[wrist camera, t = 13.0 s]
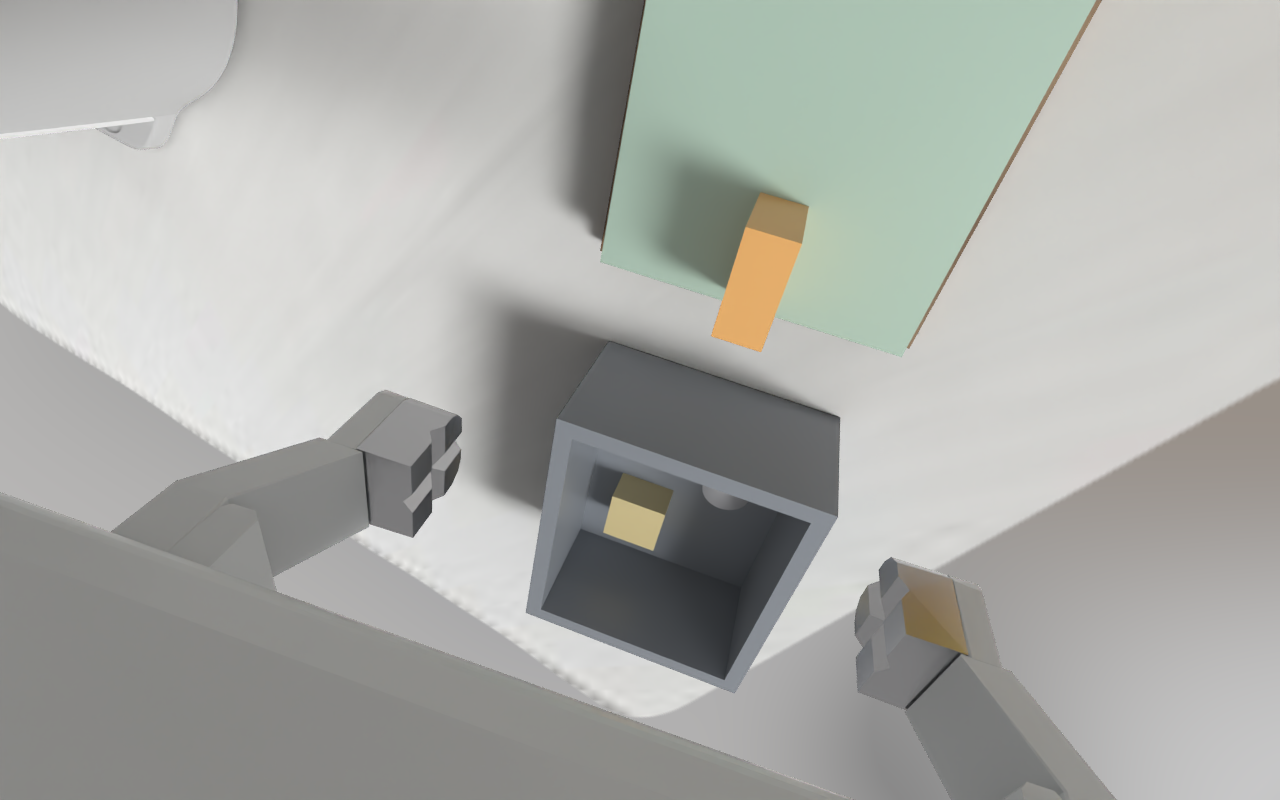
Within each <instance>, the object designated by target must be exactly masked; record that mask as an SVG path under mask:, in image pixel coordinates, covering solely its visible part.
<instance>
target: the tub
mask: <svg viewBox="0 0 1280 800" xmlns="http://www.w3.org/2000/svg"><path fill="white" fill-rule="evenodd" d="M839 444H840V418H839V417H836V416H833V415H830V414H827V413H824V412H821V411H818V410H815V409H812V408H809V407H806V406H803V405H800V404H797V403H794V402H791V401H788V400H785V399H782V398H779V397H776V396H773V395H770V394H767V393H764V392H761V391H758V390H755V389H752V388H749V387H746V386H743V385H740V384H737V383H734V382H731V381H728V380H725V379H722V378H719V377H716V376H713V375H710V374H707V373H704V372H701V371H698V370H695V369H692V368H689V367H686V366H683V365H680V364H677V363H674V362H671V361H668V360H665V359H662V358H659V357H656V356H653V355H650V354H647V353H644V352H641V351H638V350H635V349H632V348H629V347H626V346H623V345H620V344H616V343H613V342H610V341H609V342H608V343H607V345H606V346H605V348H604V349H603V351H602V352H601V354H600V355H599V357H598V358H597V360H596V361H595V362H594V364H593V365H592V367H591V368H590V370H589V371H588V373H587V374H586V376H585V377H584V379H583V380H582V382H581V383H580V385H579V386H578V388H577V389H576V391H575V392H574V394H573V395H572V397H571V398H570V400H569V401H568V402H567V404H566V405H565V407H564V408H563V410H562V411H561V413H560V414H559V416H558V417H557V420H556V426H555V432H554V438H553V445H552V451H551V457H550V464H549V470H548V476H547V482H546V489H545V495H544V501H543V508H542V514H541V520H540V526H539V533H538V539H537V545H536V552H535V558H534V564H533V570H532V577H531V583H530V589H529V596H528V602H527V608H526V613H528V614H530V615H533V616H536V617H538V618H541V619H543V620H546V621H549V622H551V623H554V624H556V625H559V626H561V627H564V628H567V629H569V630H572V631H574V632H577V633H580V634H582V635H585V636H587V637H590V638H593V639H595V640H598V641H600V642H603V643H605V644H608V645H611V646H613V647H616V648H618V649H621V650H624V651H626V652H629V653H631V654H634V655H637V656H639V657H642V658H644V659H647V660H649V661H652V662H655V663H657V664H660V665H662V666H665V667H668V668H670V669H673V670H675V671H678V672H680V673H683V674H686V675H688V676H691V677H693V678H696V679H699V680H701V681H704V682H706V683H709V684H712V685H714V686H717V687H719V688H722V689H724V690H727V691H730V692H732V693H735V692H736V690H737V688H738V687H739V685H740V683H741V682H742V680H743V678H744V677H745V675H746V673H747V672H748V670H749V668H750V666H751V665H752V663H753V661H754V660H755V658H756V656H757V654H758V653H759V651H760V649H761V648H762V646H763V644H764V642H765V641H766V639H767V637H768V636H769V634H770V632H771V630H772V629H773V627H774V625H775V624H776V622H777V620H778V618H779V617H780V615H781V613H782V612H783V610H784V608H785V606H786V605H787V603H788V601H789V600H790V598H791V596H792V595H793V593H794V591H795V589H796V588H797V586H798V584H799V583H800V581H801V579H802V577H803V576H804V574H805V572H806V571H807V569H808V567H809V565H810V564H811V562H812V560H813V559H814V557H815V555H816V553H817V552H818V550H819V548H820V547H821V545H822V543H823V541H824V540H825V538H826V536H827V535H828V533H829V531H830V530H831V528H832V526H833V524H834V523H835V521H836V519H837V518H838V490H839Z"/></svg>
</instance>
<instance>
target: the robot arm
mask: <svg viewBox="0 0 1280 800" xmlns="http://www.w3.org/2000/svg"><path fill="white" fill-rule="evenodd" d="M237 11H238V0H0V139H9V138H17V137H26V136H35V135H43V134H52V133H61V132H69V131H77V130H85V129H94V128H95V129H97V130H99V131H100V132H102V133H104V134H106V135H108V136H110V137H112V138H114V139H116V140H117V141H119V142H121V143H123V144H125V145H127V146H129V147H131V148H134V149H137V150H145V149H155V148H160V147H162V146H163V145H164V144H165V143H166V142H167V140H168V138H169V136H170V134H171V131H172V129H173V126H174V123H175V120H176V117H177V114H178V113H179V112H180V111H181V110H182V109H183V108H184V107H185V106H187V105H188V104H190V103H191V102H193V101H195V100H196V99H198V98H200V97H201V96H203V95H204V94H205V93H207V92H208V91H209V90H210V89H211V88H212V87H213V86H214V85H215V83H216V82H217V81H218V80H219V78H220V76H221V75H222V73H223V72H224V70H225V68H226V65H227V63H228V61H229V58H230V55H231V52H232V48H233V44H234V40H235V34H236V26H237ZM461 432H462V418H461V417H460V416H458V415H457V414H454V413H451V412H448V411H445V410H443V409H440V408H437V407H434V406H431V405H428V404H426V403H423V402H420V401H417V400H414V399H412V398H407V397H404V396H401V395H399V394H396V393H393V392H390V391H388V390H384V391H381V392H378V393H377V394H376V395H375V396H374V397H372V398H371V399H370V400H369V401H368V402H367V403H366V404H365V405H364V406H363V407H362V408H361V409H360V410H359V411H357V412H356V413H355V414H354V415H353V416H352V417H351V418H350V419H349V420H348V421H347V422H346V423H345V424H344V425H342V426H341V427H340V428H339V429H338V430H337V431H336V432H335V433H334V434H333V435H332V436H331V437H330V438H329V439H327V440H326V439H322V438H317V439H313V440H310V441H307V442H303V443H300V444H297V445H293V446H290V447H287V448H283V449H280V450H277V451H273V452H270V453H267V454H263V455H260V456H257V457H253V458H250V459H247V460H243V461H240V462H237V463H234V464H230V465H227V466H223V467H220V468H217V469H213V470H210V471H207V472H204V473H200V474H197V475H194V476H190V477H187V478H184V479H180V480H177V481H175V482H174V483H173V484H171V485H170V486H169V487H167V488H166V489H165V490H164V491H162V492H161V493H160V494H158V495H157V496H156V497H155V498H153V499H152V500H151V501H149V502H148V503H147V504H146V505H144V506H143V507H142V508H141V509H139V510H138V511H137V512H135V513H134V514H133V515H131V516H130V517H129V518H128V519H126V520H125V521H124V522H123V523H121V524H120V525H119V526H118V527H116V528H115V529H114V530H112V531H111V532H110V531H107V530H104V529H101V528H98V527H96V526H93V525H90V524H87V523H85V522H82V521H79V520H76V519H74V518H71V517H68V516H65V515H62V514H60V513H57V512H54V511H51V510H49V509H46V508H43V507H40V506H37V505H34V504H32V503H29V502H26V501H24V500H21V499H18V498H15V497H12V496H9V495H7V494H4V493H1V492H0V800H854V799H851V798H848V797H845V796H842V795H840V794H837V793H834V792H831V791H829V790H826V789H823V788H820V787H818V786H815V785H812V784H809V783H806V782H804V781H801V780H798V779H795V778H793V777H790V776H787V775H784V774H781V773H778V772H776V771H773V770H770V769H767V768H765V767H762V766H759V765H756V764H753V763H751V762H748V761H745V760H742V759H739V758H737V757H734V756H731V755H728V754H726V753H723V752H720V751H717V750H714V749H712V748H709V747H706V746H703V745H701V744H698V743H695V742H692V741H690V740H687V739H684V738H681V737H678V736H676V735H673V734H670V733H667V732H665V731H662V730H659V729H656V728H653V727H651V726H648V725H645V724H642V723H639V722H637V721H634V720H631V719H628V718H626V717H623V716H620V715H617V714H614V713H612V712H609V711H606V710H603V709H601V708H598V707H595V706H592V705H589V704H587V703H584V702H581V701H578V700H576V699H573V698H570V697H567V696H565V695H562V694H559V693H556V692H553V691H551V690H548V689H545V688H542V687H539V686H537V685H534V684H531V683H528V682H526V681H523V680H520V679H517V678H515V677H512V676H509V675H506V674H503V673H501V672H498V671H495V670H492V669H490V668H487V667H484V666H481V665H479V664H476V663H473V662H470V661H467V660H465V659H462V658H459V657H456V656H454V655H450V654H448V653H445V652H442V651H440V650H437V649H434V648H431V647H429V646H426V645H423V644H420V643H417V642H415V641H412V640H409V639H406V638H404V637H401V636H398V635H395V634H393V633H390V632H387V631H384V630H381V629H379V628H376V627H373V626H370V625H368V624H365V623H362V622H359V621H356V620H354V619H351V618H348V617H345V616H342V615H340V614H337V613H334V612H331V611H329V610H326V609H323V608H320V607H318V606H315V605H312V604H309V603H306V602H304V601H301V600H298V599H295V598H293V597H290V596H287V595H284V594H281V593H279V592H277V590H276V586H275V583H274V579H273V577H274V576H276V575H278V574H280V573H282V572H283V571H285V570H287V569H289V568H291V567H293V566H295V565H297V564H299V563H301V562H303V561H304V560H306V559H308V558H310V557H312V556H314V555H316V554H318V553H320V552H322V551H324V550H325V549H327V548H329V547H331V546H333V545H335V544H337V543H339V542H341V541H343V540H344V539H346V538H348V537H350V536H352V535H354V534H356V533H358V532H360V531H362V530H364V529H366V528H367V527H369V524H371V525H374V526H377V527H381V528H384V529H387V530H390V531H393V532H396V533H400V534H403V535H406V536H409V537H412V538H413V537H414V536H415V534H416V533H417V532H418V530H419V529H420V527H421V526H422V525H423V523H424V522H425V521H426V519H427V518H428V517H429V515H430V514H431V513H432V500H434V499H436V498H439V497H441V496H444V495H445V493H446V492H447V490H448V489H449V487H450V486H451V485H452V482H453V480H454V478H455V476H456V474H457V471H458V468H459V463H460V459H461V449H460V447H459V446H458V444H457V442H456V441H455V440H456V439H457V437H458V436H459V435H460V433H461ZM879 578H880V581H878V582H875V583H873V584H870V585H868V586H867V588H866V589H865V591H864V592H863V594H862V595H861V597H860V600H859V603H858V606H857V609H856V615H855V636H856V638H857V639H858V641H859V642H860V644H861V645H862V647H863V649H862V650H861V651H860V653H859V654H858V655H857V657H856V668H857V688H858V692H859V693H862V694H864V695H867V696H870V697H872V698H875V699H878V700H881V701H883V702H886V703H888V704H891V705H894V706H896V707H899V708H902V709H904V710H906V711H905V713H906V715H907V717H908V719H909V721H910V723H911V725H912V726H913V729H914V731H915V732H916V734H917V736H918V738H919V740H920V742H921V744H922V746H923V748H924V749H925V751H926V753H927V755H928V757H929V759H930V761H931V763H932V764H933V766H934V768H935V770H936V772H937V774H938V776H939V778H940V780H941V782H942V783H943V785H944V787H945V789H946V791H947V793H948V795H949V797H950V799H951V800H1116V798H1115V797H1114V796H1113V795H1112V794H1111V792H1110V791H1109V790H1108V789H1107V787H1106V786H1105V785H1104V784H1103V783H1102V781H1101V780H1100V779H1099V778H1098V777H1097V776H1096V774H1095V773H1094V772H1093V770H1092V769H1091V768H1090V767H1089V766H1088V764H1087V763H1086V762H1085V761H1084V759H1083V758H1082V757H1081V756H1080V755H1079V753H1078V752H1077V751H1076V750H1075V749H1074V747H1073V746H1072V745H1071V744H1070V742H1069V741H1068V740H1067V739H1066V738H1065V736H1064V735H1063V734H1062V733H1061V731H1060V730H1059V729H1058V728H1057V726H1056V725H1055V724H1054V723H1053V722H1052V720H1051V719H1050V718H1049V717H1048V716H1047V714H1046V713H1045V712H1044V711H1043V709H1042V708H1041V707H1040V706H1039V705H1038V703H1037V702H1036V701H1035V700H1034V698H1033V697H1032V696H1031V695H1030V694H1029V692H1028V691H1027V690H1026V689H1025V687H1024V686H1023V685H1022V684H1021V683H1020V681H1019V680H1018V679H1017V678H1016V677H1015V675H1014V674H1013V673H1012V672H1011V671H1009V670H1006V669H1004V668H1002V665H1001V661H1000V657H999V653H998V650H997V646H996V642H995V638H994V634H993V631H992V627H991V623H990V619H989V615H988V612H987V608H986V604H985V600H984V596H983V593H982V590H981V588H980V587H979V586H978V585H977V584H975V583H972V582H968V581H964V580H962V579H959V578H956V577H952V576H949V575H945V574H942V573H939V572H936V571H933V570H930V569H927V568H924V567H920V566H917V565H914V564H911V563H908V562H905V561H902V560H899V559H895V558H892V557H891V558H889V559H888V560H886V561H885V562H884V563H883V565H882V566H881V568H880V569H879Z"/></svg>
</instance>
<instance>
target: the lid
mask: <svg viewBox="0 0 1280 800" xmlns="http://www.w3.org/2000/svg"><path fill="white" fill-rule="evenodd" d="M1095 2H1096V0H646V4H645V10H644V15H643V21H642V27H641V33H640V38H639V44H638V50H637V55H636V61H635V67H634V72H633V78H632V84H631V90H630V95H629V101H628V107H627V112H626V118H625V124H624V129H623V135H622V141H621V147H620V152H619V158H618V164H617V169H616V175H615V181H614V186H613V192H612V198H611V204H610V209H609V215H608V221H607V226H606V232H605V238H604V243H603V249H602V255H601V261H600V262H602V263H605V264H608V265H611V266H615V267H618V268H621V269H624V270H627V271H630V272H634V273H637V274H640V275H643V276H646V277H649V278H653V279H656V280H659V281H662V282H665V283H668V284H672V285H675V286H678V287H681V288H684V289H687V290H691V291H694V292H697V293H700V294H703V295H706V296H710V297H713V298H716V299H719V300H722V303H721V306H720V309H719V312H718V316H717V319H716V322H715V325H714V328H713V331H712V335H711V336H712V337H715V338H718V339H722V340H725V341H728V342H731V343H734V344H737V345H740V346H743V347H746V348H749V349H753V350H756V351H759V352H761V351H762V348H763V346H764V343H765V340H766V338H767V335H768V332H769V330H770V327H771V325H772V322H773V319H774V317H776V318H779V319H782V320H786V321H789V322H792V323H795V324H798V325H801V326H805V327H808V328H811V329H814V330H817V331H820V332H824V333H827V334H830V335H833V336H836V337H839V338H843V339H846V340H849V341H852V342H855V343H858V344H862V345H865V346H868V347H871V348H874V349H877V350H881V351H884V352H887V353H890V354H893V355H896V356H900V357H902V355H903V354H904V352H905V350H906V348H907V346H908V344H909V343H910V341H911V339H912V337H913V335H914V333H915V332H916V330H917V328H918V326H919V324H920V322H921V321H922V319H923V317H924V315H925V313H926V311H927V310H928V308H929V306H930V304H931V302H932V300H933V299H934V297H935V295H936V293H937V291H938V289H939V288H940V286H941V284H942V282H943V280H944V278H945V277H946V275H947V273H948V271H949V269H950V267H951V266H952V264H953V262H954V260H955V258H956V256H957V255H958V253H959V251H960V249H961V247H962V245H963V244H964V242H965V240H966V238H967V236H968V234H969V233H970V231H971V229H972V227H973V225H974V223H975V222H976V220H977V218H978V216H979V214H980V212H981V211H982V209H983V207H984V205H985V203H986V201H987V200H988V198H989V196H990V194H991V192H992V190H993V189H994V187H995V185H996V183H997V181H998V179H999V178H1000V176H1001V174H1002V172H1003V170H1004V168H1005V167H1006V165H1007V163H1008V161H1009V159H1010V157H1011V156H1012V154H1013V152H1014V150H1015V148H1016V146H1017V145H1018V143H1019V141H1020V139H1021V137H1022V135H1023V134H1024V132H1025V130H1026V128H1027V126H1028V124H1029V123H1030V121H1031V119H1032V117H1033V115H1034V113H1035V112H1036V110H1037V108H1038V106H1039V104H1040V102H1041V101H1042V99H1043V97H1044V95H1045V93H1046V91H1047V90H1048V88H1049V86H1050V84H1051V82H1052V80H1053V79H1054V77H1055V75H1056V73H1057V71H1058V69H1059V68H1060V66H1061V64H1062V62H1063V60H1064V58H1065V57H1066V55H1067V53H1068V51H1069V49H1070V47H1071V46H1072V44H1073V42H1074V40H1075V38H1076V36H1077V35H1078V33H1079V31H1080V29H1081V27H1082V25H1083V24H1084V22H1085V20H1086V18H1087V16H1088V14H1089V13H1090V11H1091V9H1092V7H1093V5H1094V3H1095Z"/></svg>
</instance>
